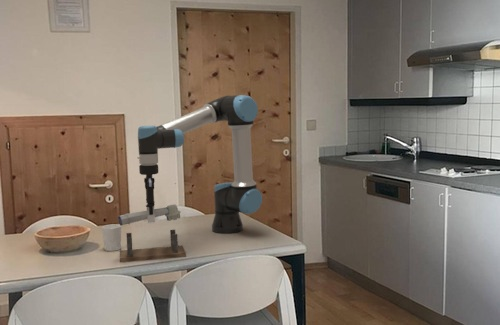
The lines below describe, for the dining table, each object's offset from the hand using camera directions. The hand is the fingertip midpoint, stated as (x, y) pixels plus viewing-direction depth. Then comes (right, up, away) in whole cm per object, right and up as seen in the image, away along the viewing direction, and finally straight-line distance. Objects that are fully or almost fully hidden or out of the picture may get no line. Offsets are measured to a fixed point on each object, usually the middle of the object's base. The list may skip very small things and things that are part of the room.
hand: (150, 220), depth 224 cm
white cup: (-19, -14, +13) cm, 26 cm away
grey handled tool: (0, -1, 0) cm, 1 cm away
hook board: (0, -14, +2) cm, 15 cm away
